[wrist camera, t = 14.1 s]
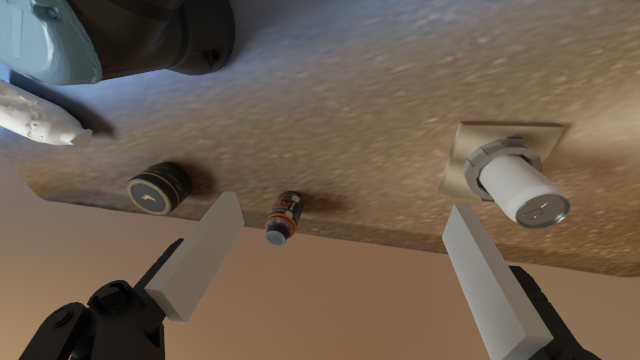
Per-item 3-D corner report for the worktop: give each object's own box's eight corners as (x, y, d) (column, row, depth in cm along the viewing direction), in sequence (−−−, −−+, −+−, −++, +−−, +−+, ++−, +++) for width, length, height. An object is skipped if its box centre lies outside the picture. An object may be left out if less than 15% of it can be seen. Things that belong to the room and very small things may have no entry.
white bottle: (104, 147, 51) (66, 164, 45) (15, 106, 49) (-39, 118, 42) (101, 117, 47) (59, 130, 40) (3, 70, 44) (-59, 77, 38)
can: (526, 167, 38) (585, 215, 28) (486, 188, 41) (526, 238, 31) (505, 140, 36) (561, 182, 26) (465, 165, 39) (501, 210, 29)
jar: (144, 165, 52) (114, 183, 46) (177, 155, 49) (149, 173, 43) (171, 199, 57) (147, 219, 51) (202, 192, 54) (181, 213, 48)
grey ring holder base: (459, 121, 37) (470, 131, 33) (557, 123, 35) (581, 134, 31) (437, 192, 44) (445, 206, 41) (517, 197, 42) (532, 212, 39)
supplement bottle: (294, 186, 49) (278, 223, 40) (309, 206, 51) (297, 245, 42) (273, 196, 51) (253, 232, 42) (288, 214, 54) (273, 253, 44)
